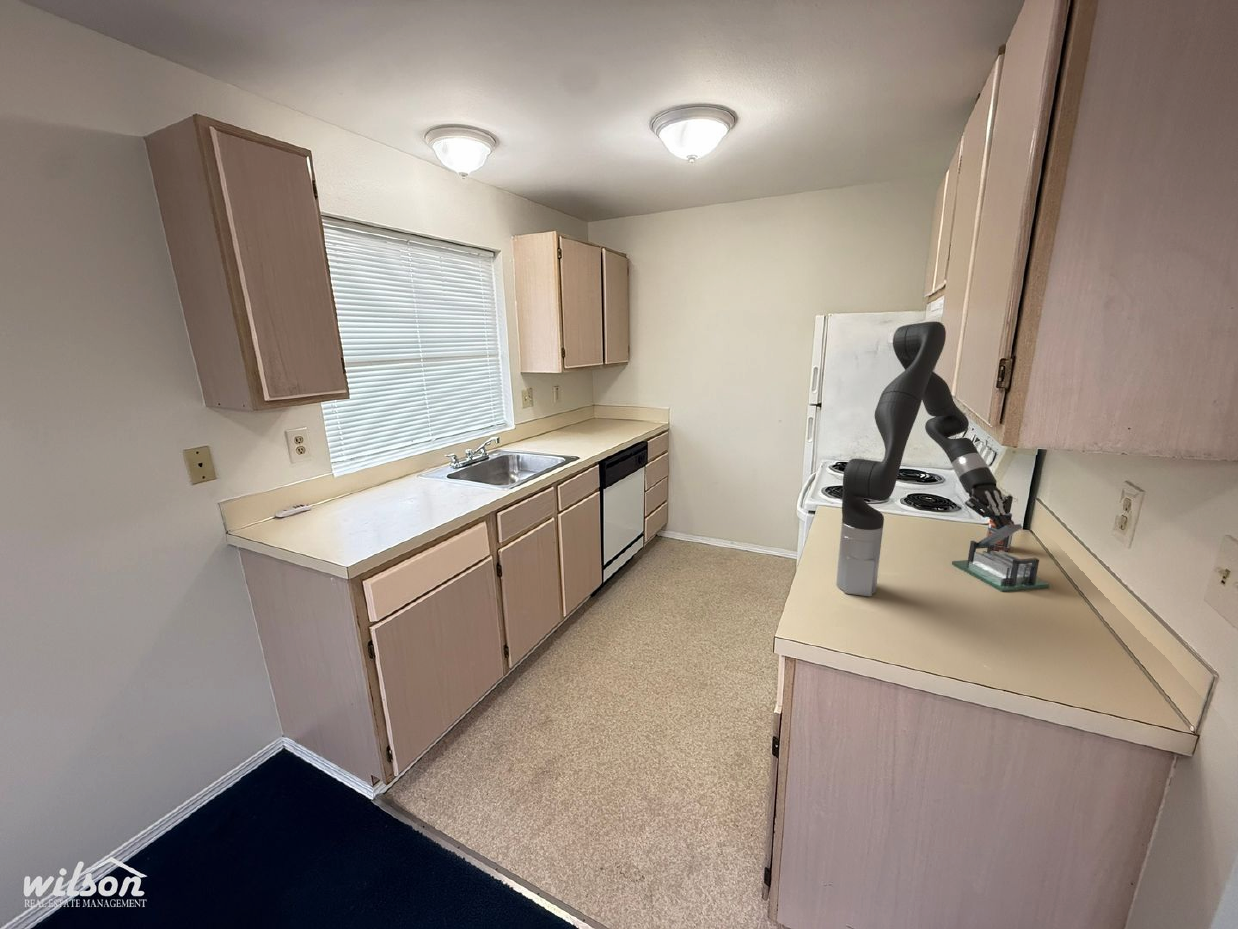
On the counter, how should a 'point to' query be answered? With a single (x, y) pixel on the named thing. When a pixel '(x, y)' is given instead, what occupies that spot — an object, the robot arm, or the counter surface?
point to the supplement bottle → (1005, 542)
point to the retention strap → (998, 536)
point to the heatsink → (1002, 569)
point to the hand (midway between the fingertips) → (1005, 530)
